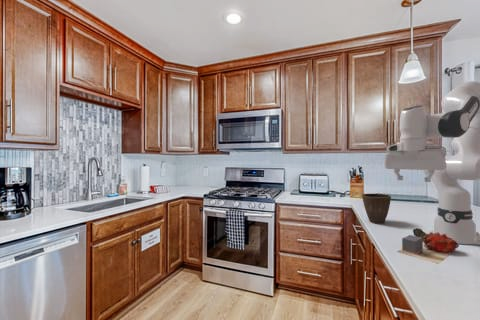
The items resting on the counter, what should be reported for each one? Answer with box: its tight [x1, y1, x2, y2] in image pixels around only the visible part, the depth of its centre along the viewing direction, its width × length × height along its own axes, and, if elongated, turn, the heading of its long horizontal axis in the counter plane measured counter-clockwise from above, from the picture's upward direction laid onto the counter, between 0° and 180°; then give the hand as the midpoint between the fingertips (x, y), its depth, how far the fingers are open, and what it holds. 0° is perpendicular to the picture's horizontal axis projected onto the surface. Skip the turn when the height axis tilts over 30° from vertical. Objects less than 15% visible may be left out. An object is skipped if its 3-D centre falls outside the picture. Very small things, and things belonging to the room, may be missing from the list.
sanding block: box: [401, 234, 424, 255], centre depth 93 cm, size 7×4×5 cm, turn 124°
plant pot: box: [361, 193, 392, 225], centre depth 140 cm, size 15×15×16 cm
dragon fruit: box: [423, 231, 460, 254], centre depth 94 cm, size 8×8×12 cm
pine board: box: [396, 248, 450, 264], centre depth 91 cm, size 12×13×2 cm
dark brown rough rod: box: [412, 228, 427, 238], centre depth 106 cm, size 19×4×5 cm, turn 160°
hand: (413, 181), depth 95 cm, fingers open, 8 cm apart
